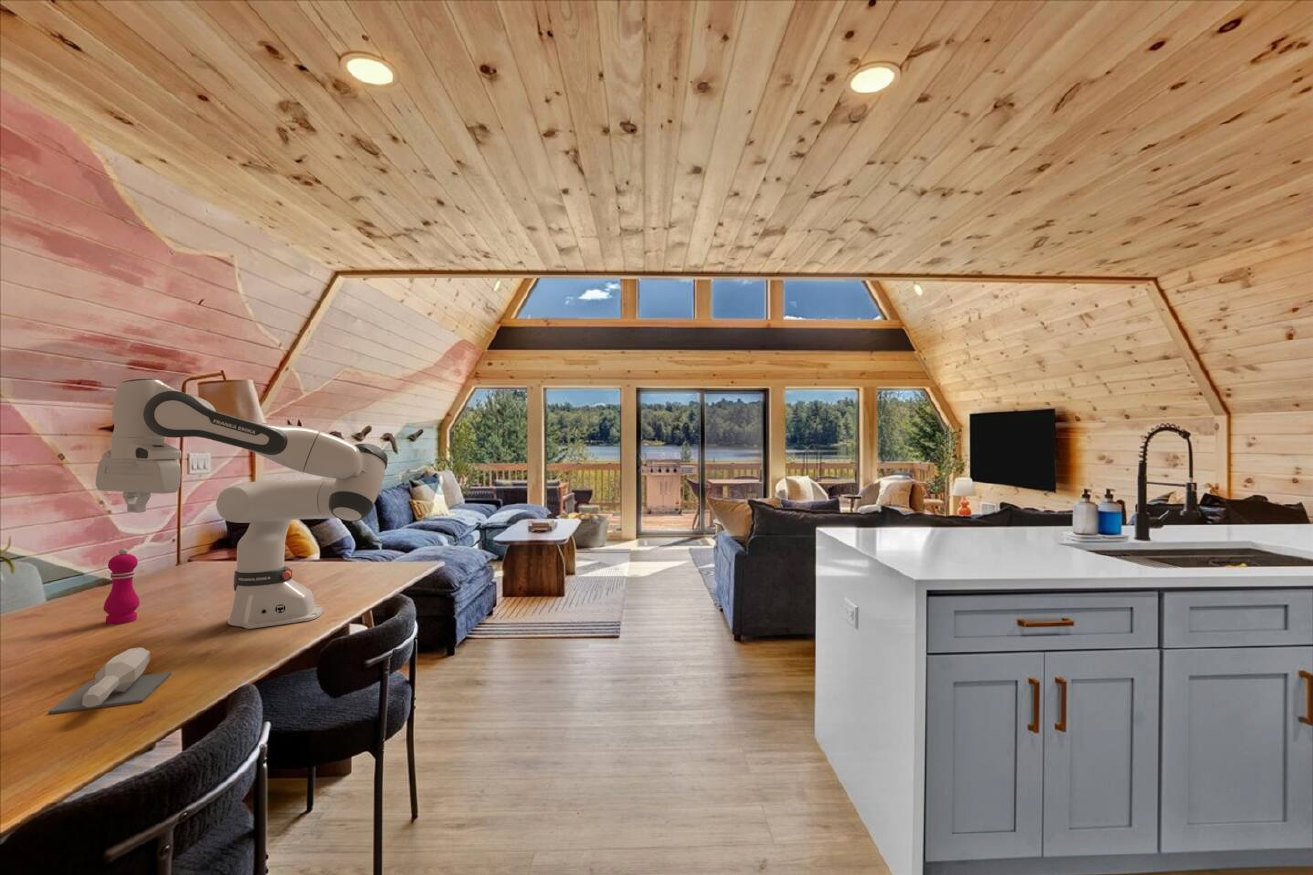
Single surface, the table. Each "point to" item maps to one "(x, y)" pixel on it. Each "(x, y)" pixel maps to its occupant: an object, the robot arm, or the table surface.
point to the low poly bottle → (117, 675)
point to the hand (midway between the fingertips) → (136, 512)
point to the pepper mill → (122, 589)
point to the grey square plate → (131, 695)
